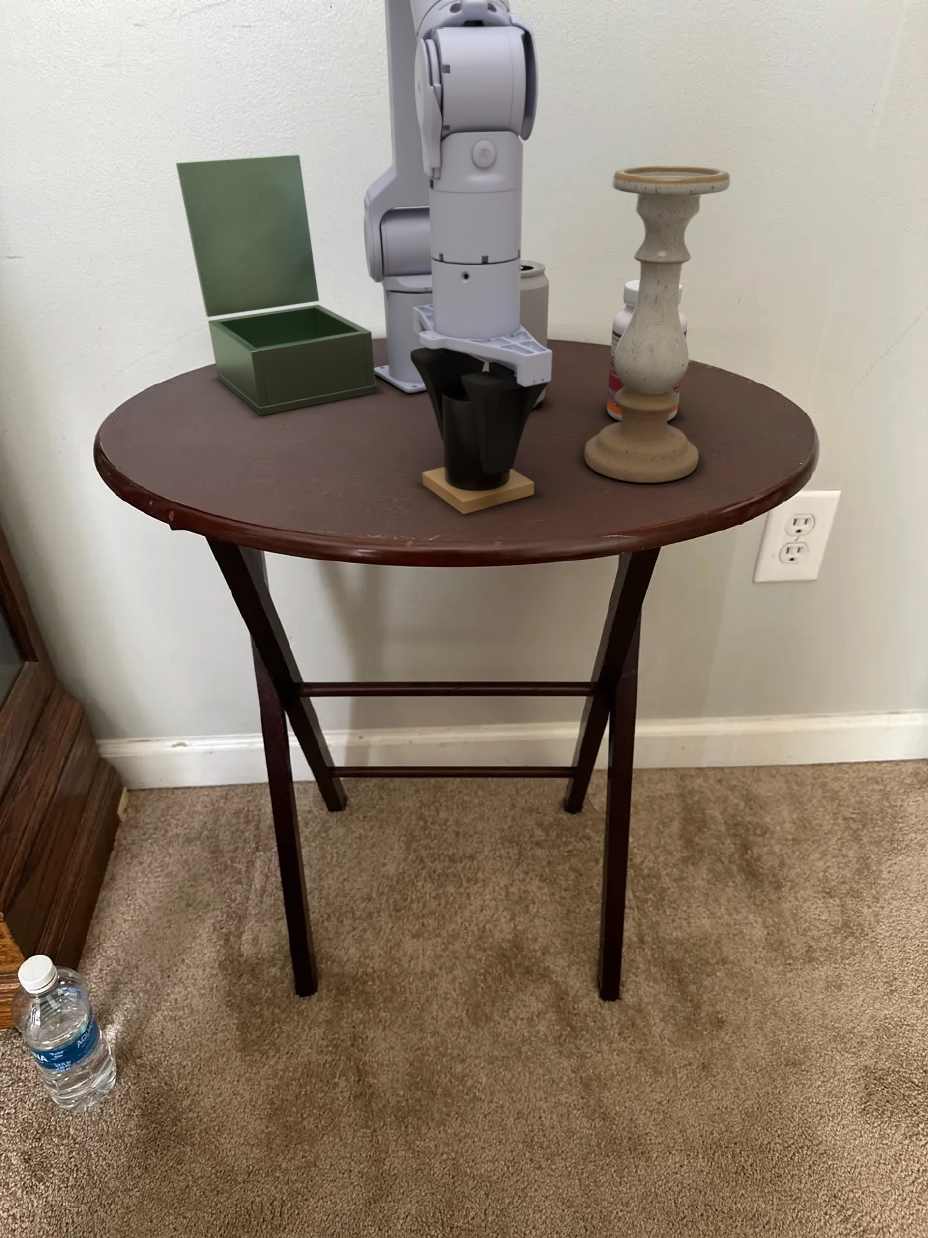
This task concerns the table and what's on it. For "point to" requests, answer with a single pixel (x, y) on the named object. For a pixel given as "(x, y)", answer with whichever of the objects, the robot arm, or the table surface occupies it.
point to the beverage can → (533, 304)
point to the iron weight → (464, 444)
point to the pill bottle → (617, 331)
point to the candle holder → (654, 331)
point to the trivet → (477, 499)
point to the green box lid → (249, 233)
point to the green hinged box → (293, 358)
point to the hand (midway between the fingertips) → (477, 456)
